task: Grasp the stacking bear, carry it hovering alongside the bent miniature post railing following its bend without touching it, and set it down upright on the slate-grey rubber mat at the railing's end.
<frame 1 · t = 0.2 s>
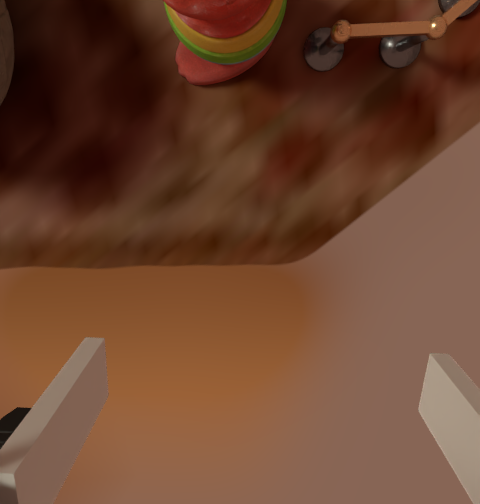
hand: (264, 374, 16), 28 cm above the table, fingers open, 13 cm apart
miniature post railing: (389, 23, 37), on the table
stacking bear: (225, 19, 37), on the table
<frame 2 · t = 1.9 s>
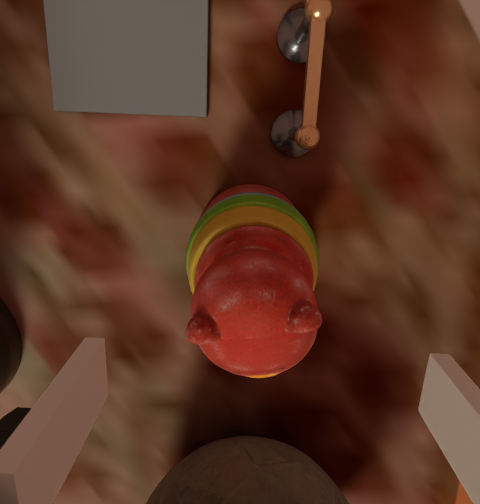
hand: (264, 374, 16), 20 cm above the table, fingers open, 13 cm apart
mat: (128, 30, 31), on the table
miniature post railing: (273, 50, 31), on the table
bowl: (247, 477, 44), on the table
stacking bear: (250, 238, 36), on the table
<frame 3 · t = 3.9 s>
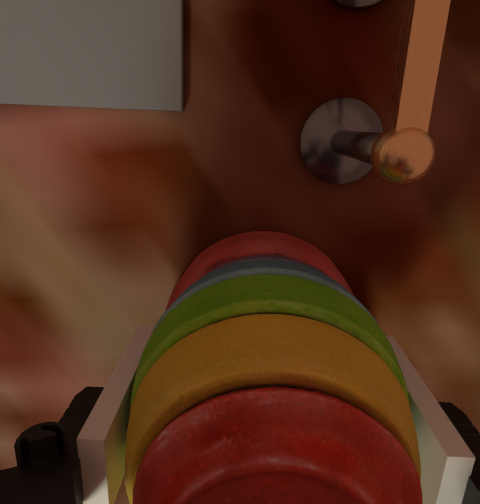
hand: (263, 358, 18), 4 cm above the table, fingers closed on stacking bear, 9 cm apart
stacking bear: (261, 318, 21), on the table, touching gripper
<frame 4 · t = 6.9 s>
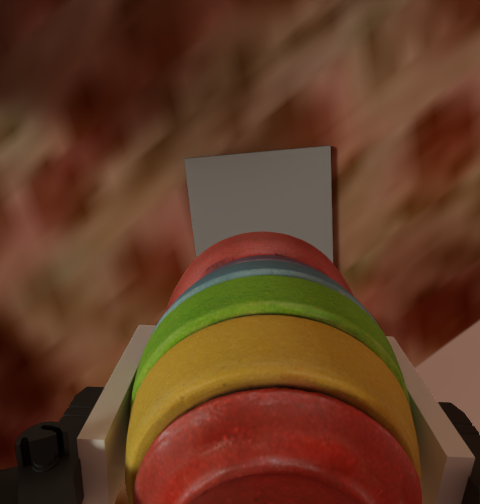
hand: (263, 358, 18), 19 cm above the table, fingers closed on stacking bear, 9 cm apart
mat: (261, 222, 35), on the table
stacking bear: (261, 318, 21), point 15 cm above the table, touching gripper
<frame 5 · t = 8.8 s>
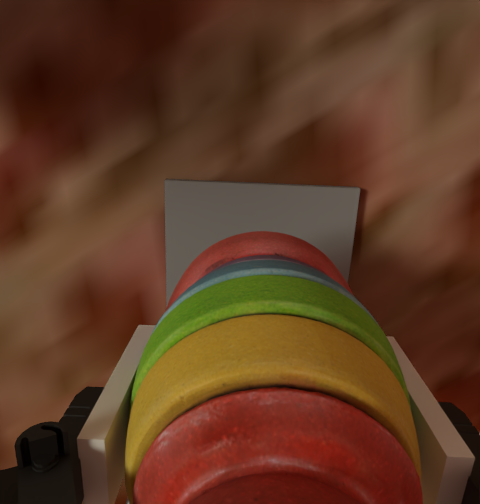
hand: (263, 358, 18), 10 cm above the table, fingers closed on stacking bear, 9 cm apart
mat: (256, 272, 27), on the table
stacking bear: (261, 318, 21), point 6 cm above the table, touching gripper
when the fingers open (5 cm above the table, at t = 10.2 s): stacking bear drops 1 cm, resting on mat.
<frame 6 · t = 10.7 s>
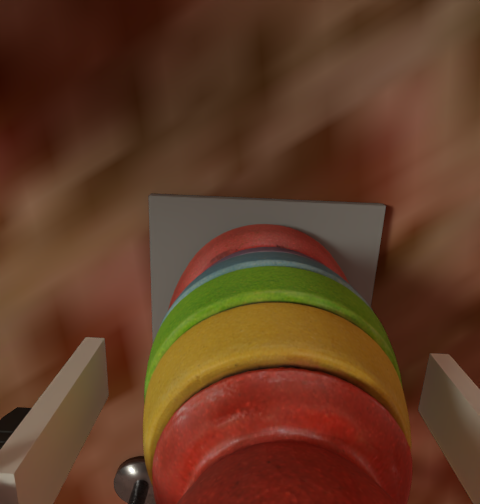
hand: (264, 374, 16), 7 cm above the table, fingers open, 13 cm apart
mat: (260, 304, 23), on the table
miniature post railing: (235, 458, 26), on the table
stacking bear: (261, 306, 22), point 1 cm above the table, touching mat
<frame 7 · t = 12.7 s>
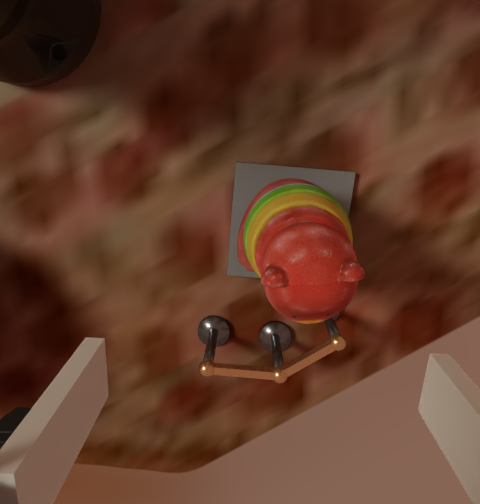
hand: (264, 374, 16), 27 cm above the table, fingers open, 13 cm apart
mat: (288, 224, 43), on the table
miniature post railing: (268, 318, 46), on the table
stacking bear: (289, 224, 42), resting on mat
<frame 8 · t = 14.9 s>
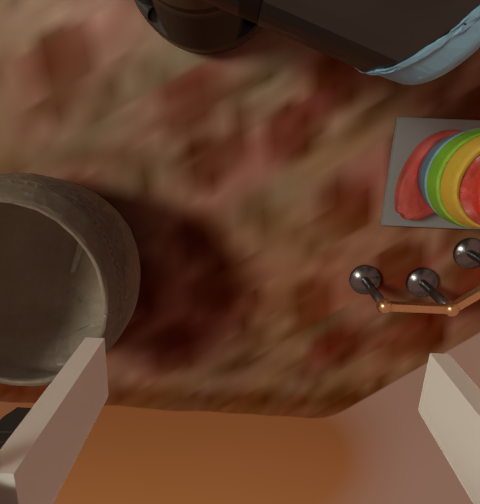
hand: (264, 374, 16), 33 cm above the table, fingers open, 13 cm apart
mat: (441, 174, 46), on the table
miniature post railing: (415, 265, 49), on the table
bowl: (73, 249, 50), on the table
stacking bear: (443, 174, 46), resting on mat
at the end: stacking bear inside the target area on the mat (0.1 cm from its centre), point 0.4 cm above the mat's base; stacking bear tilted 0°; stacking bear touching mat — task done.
